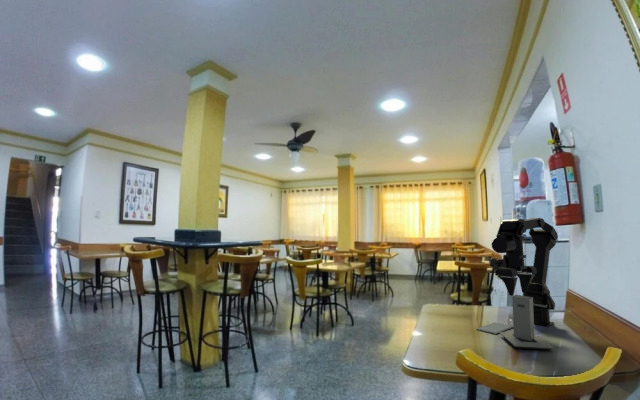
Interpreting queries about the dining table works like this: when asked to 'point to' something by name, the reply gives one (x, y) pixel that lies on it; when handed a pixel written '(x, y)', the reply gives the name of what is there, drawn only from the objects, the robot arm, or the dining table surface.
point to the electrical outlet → (526, 342)
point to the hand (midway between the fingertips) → (517, 294)
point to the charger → (523, 317)
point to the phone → (495, 328)
